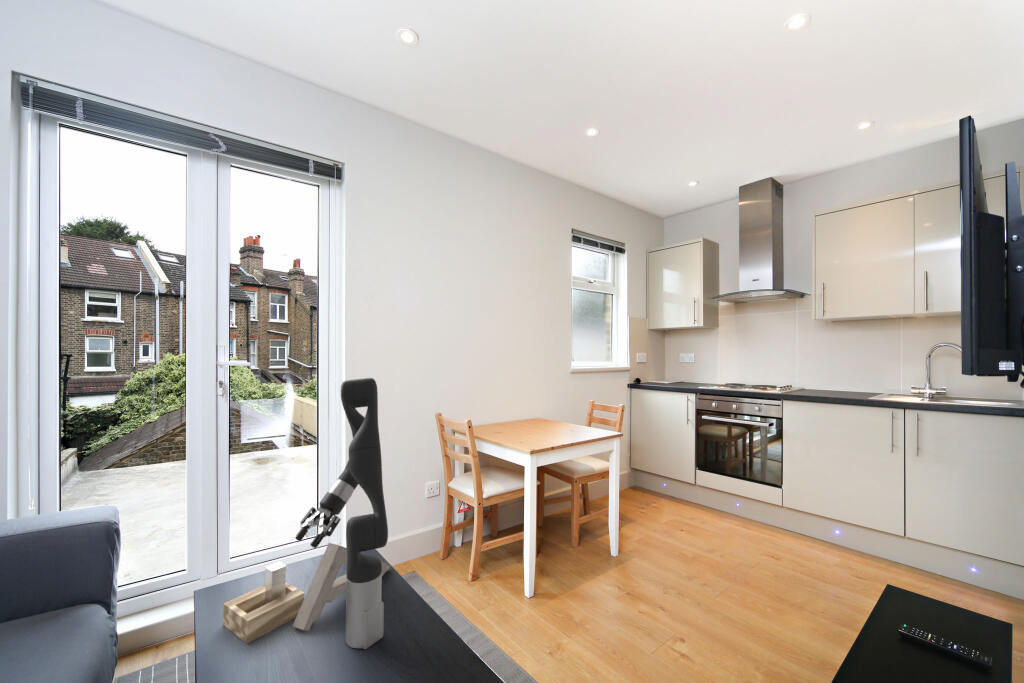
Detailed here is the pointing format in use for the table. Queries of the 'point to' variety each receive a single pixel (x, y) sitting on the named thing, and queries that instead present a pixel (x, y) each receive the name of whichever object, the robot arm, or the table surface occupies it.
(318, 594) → the grey letter a
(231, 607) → the beech well block
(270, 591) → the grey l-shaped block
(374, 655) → the table surface
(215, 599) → the table surface
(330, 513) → the robot arm
